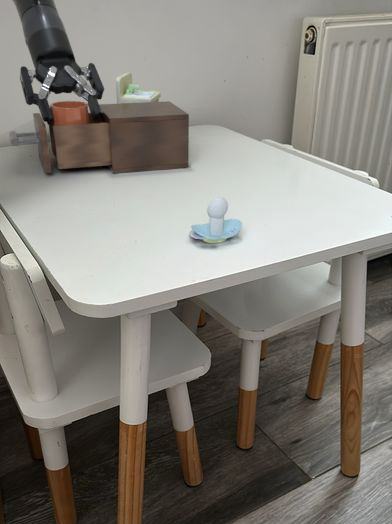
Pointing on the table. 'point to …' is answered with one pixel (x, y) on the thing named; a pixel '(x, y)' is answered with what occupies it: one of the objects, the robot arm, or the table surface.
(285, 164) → the table surface
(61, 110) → the cup
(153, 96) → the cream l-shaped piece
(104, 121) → the drawer
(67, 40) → the robot arm
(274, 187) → the table surface
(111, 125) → the cabinet
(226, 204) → the pacifier
